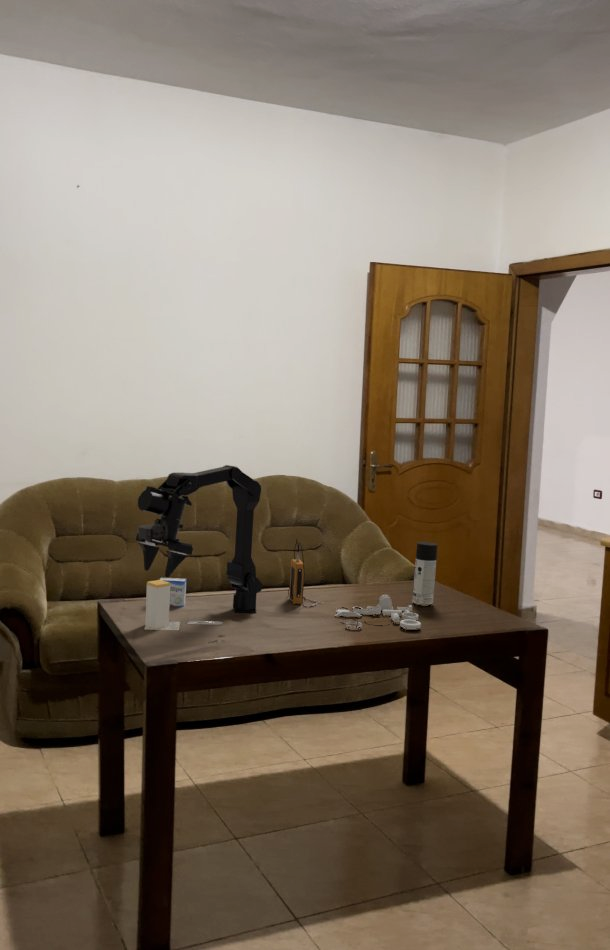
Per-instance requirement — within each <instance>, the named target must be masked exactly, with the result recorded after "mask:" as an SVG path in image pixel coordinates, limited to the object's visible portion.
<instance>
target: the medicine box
mask: <svg viewBox="0 0 610 950" xmlns="http://www.w3.org/2000/svg"><path fill="white" fill-rule="evenodd" d="M159 580H163V581H166V582H169V583H170V605H169V607H185V606H186V596H187V595H186V594H187V578H179V577H178V578H177V577H175V578H173V577H160V578H159Z"/></svg>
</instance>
